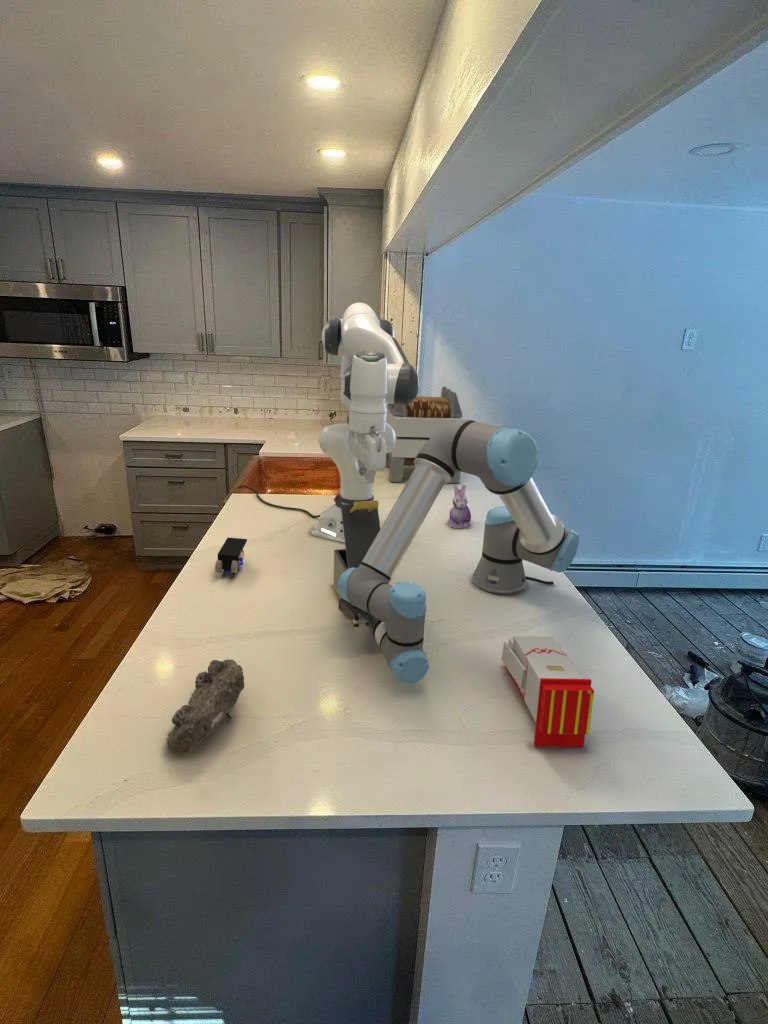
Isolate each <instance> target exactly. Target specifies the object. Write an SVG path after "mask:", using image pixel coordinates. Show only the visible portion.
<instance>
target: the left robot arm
mask: <svg viewBox="0 0 768 1024" xmlns="http://www.w3.org/2000/svg"><path fill="white" fill-rule="evenodd" d="M392 324H393V323H392V322H390V321H389V320H387V319H383V318H378V316H377V314H376V312H375V311H374V309H373V308H372V306H370V305H368V304H367V303H365V302H354V303H351V304H350V305H348V307H347V308H346V309H345V311H344V313H343V316H342V318H337V317H335V318H333V319H329V320H327V321H326V322H325V323H324V326H323V329H322V331H321V343H322V346H323V348H324V351H325V352H326V353H327V354H328V355H331V356H341V362H340V372H339V373H340V374H339V379H340V381H339V382H340V403H341V405H342V407H343V408H344V409H346V410H348V411H349V412H348V413H349V414H347V415H346V422H338V423H334V424H329V425H325V426H324V427H323V428H322V429H321V431H320V434H319V437H318V442H319V443H318V444H319V447H320V449H321V451H322V452H323V454H325V455H326V456H327V457H328V458H330V459H331V460H332V462H333V463H334V464H335V466H336V467H337V470H338V473H339V483H340V484H339V485H340V488H339V489H340V490H339V491H338V492H337V494H336V495H335V496H334V497H333V502H334V504H333V505H331V506H329V507H328V508H326V509H325V510H323V512H321V513H320V514H318V515H313V514H311V513H310V511H308V510H306V509H304V508H300V507H299V508H298V507H289V506H283V505H278V504H274V503H270V502H268V501H265V500H264V499H263V498H261V497H260V495H259V492H258V491H257V490H256V489H255V488H253V487H250V486H247V485H245V484H244V485H239V486H238V487H237V489H238V490H239V489H241V488H246V489H249V490H250V491H252V492H254V493H255V494H256V497H257V499H258V500H259V501H260V502H262V503H264V504H265V505H268V506H271V507H274V508H278V509H279V508H280V509H285V510H293V511H301V512H304V513H306V514H307V515H308V516H309V517H311V518H314V519H315V518H317V519H318V521H317V523H315V524H314V525H313V526H312V528H311V530H310V533H311V536H315V537H319V538H323V539H326V540H330V541H336V542H339V543H343V544H345V538H344V529H343V521H342V513H341V505H348V504H354V502H362V501H375V496H374V482H375V475H376V472H383V471H384V472H385V469H386V467H387V466H386V453H390V452H391V451H392V450H393V448H394V447H395V444H396V434H395V431H394V429H393V428H392V427H391V426H390V425H389V424H388V423H387V405H388V404H397V405H407V404H409V403H410V402H412V401H413V400H414V399H415V398H416V397H417V396H418V394H419V390H420V389H419V388H420V379H419V375H418V372H417V370H416V369H415V367H414V366H413V365H412V364H411V363H410V362H409V360H408V358H407V356H406V354H405V352H404V351H403V348H402V347H401V345H400V343H399V342H398V340H397V339H396V337H395V336H396V335H395V330H394V327H393V325H392Z"/></svg>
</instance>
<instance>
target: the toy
mask: <svg viewBox="0 0 768 1024" xmlns="http://www.w3.org/2000/svg"><path fill="white" fill-rule="evenodd" d="M501 662H502V663H503V664H504V667H505V670H506V671H507V673H508V675H509V676H510V679H511V680H512V681H513V683H514V685H515V686H516V688H517V690H518V691H519V693H520V696H521V697H522V698H523V699H524V703H525V704H526V706H527V708H528V710H529V713H530V714H531V716H532V718H533V720H534V722H535V729H534V740H533V746H534V747H538V748H539V747H540V748H541V747H544V748H545V747H546V748H547V747H548V748H584V746H585V739H586V735H590V730H591V721H592V720H591V719H592V714H593V713H592V711H593V704H594V694H595V690H594V689H593V687H592V679H591V678H585V676H584V675H583V674H582V673H581V672H580V670H579V669H578V668H577V666H576V665H575V663H574V662H573V661H572V660H571V658H570V657H569V656H568V654H567V653H566V652H565V650H564V649H563V648H562V646H561V645H560V643H559V641H557V640H556V639H555V637H554V636H538V635H537V636H535V635H533V636H532V635H529V636H528V635H524V636H523V635H513V637H508V642H507V641H504V642H503V647H502V654H501Z"/></svg>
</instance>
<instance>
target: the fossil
mask: <svg viewBox="0 0 768 1024" xmlns="http://www.w3.org/2000/svg"><path fill="white" fill-rule="evenodd" d="M243 670H244V669H243V667H242V665H240V664H237V662H236V661H235V660H234V659H232V658H231V659H227V658H226V659H224V660H223V661H222V660H217V659H212V660H211V661H210V663H209V665H208V666H207V671H201V672H199V673H198V674H197V675H196V676H195V680H194V684H195V685H194V687H195V689H194V690H193V693H192V694H191V697H190V698H189V700H188V704H184V705H182V706H181V707H180V709H177V710H176V711H175V713H174V715H173V716H172V718H171V723H172V724H173V727H172V730H171V731H170V732H168V734H167V738H166V741H167V742H166V745H167V749H168V750H169V751H173V752H174V753H176V754H178V753H182V752H188V751H189V752H192V751H193V750H195V748H196V747H197V746H199V744H200V743H201V742H203V741H204V740H205V739H206V738H207V737H208V736H209V735H210V734H211V733H212V732H214V730H215V729H217V727H218V726H219V724H220V722H221V721H222V720H223V719H224V718H225V716H226V717H227V719H229V720H233V717H232V715H230V714H229V710H230V709H231V708H234V706H235V704H236V703H237V702H238V699H239V697H240V695H241V693H242V691H243V690H245V689H244V688H245V675H244V671H243Z"/></svg>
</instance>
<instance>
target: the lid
mask: <svg viewBox="0 0 768 1024" xmlns="http://www.w3.org/2000/svg"><path fill="white" fill-rule="evenodd" d="M379 506H380V504H379V501H378V500H374V501H362V502H354V504H348V505H341V513H342V521H343V529H344V538H345V543H344V545H345V549H346V555H347V563H348V569H349V568H358V567H359V565H360V564H361V562H362V560H363V559H364V557H365V555H366V553H367V552H368V550H369V548H370V546H371V545H372V543H373V541H374V539H375V538H376V536H377V534H378V532H379V531H380V529H381V523H380V522H381V521H380V513H379Z"/></svg>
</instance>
